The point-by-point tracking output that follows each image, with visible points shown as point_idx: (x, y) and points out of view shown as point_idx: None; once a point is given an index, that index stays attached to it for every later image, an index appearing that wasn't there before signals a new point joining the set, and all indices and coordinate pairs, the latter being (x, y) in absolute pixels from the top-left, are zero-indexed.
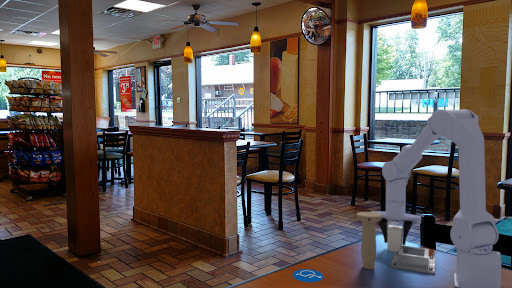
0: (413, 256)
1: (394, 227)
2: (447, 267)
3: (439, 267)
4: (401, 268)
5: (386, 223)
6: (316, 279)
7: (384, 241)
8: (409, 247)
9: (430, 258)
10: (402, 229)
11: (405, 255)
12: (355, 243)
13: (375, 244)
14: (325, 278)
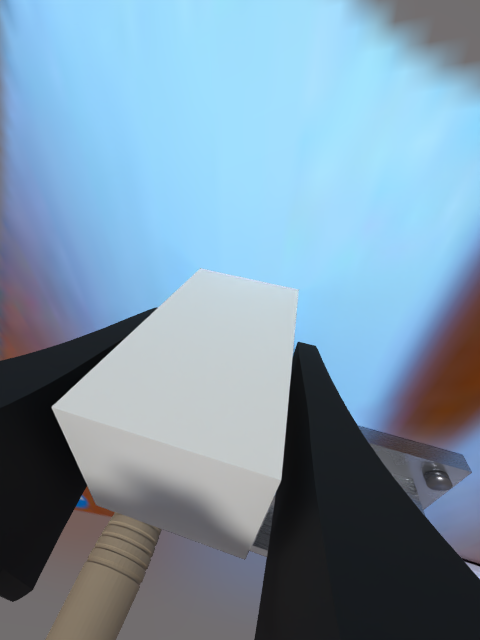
0: None
1: (156, 499)
2: (472, 514)
3: (426, 508)
4: None
5: (20, 534)
6: (81, 503)
7: None
8: None
9: (423, 480)
10: (281, 441)
11: (265, 553)
12: (3, 256)
13: (129, 609)
14: (92, 503)
